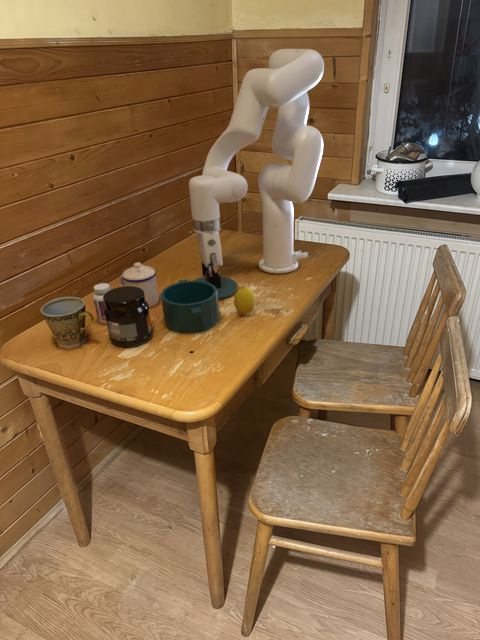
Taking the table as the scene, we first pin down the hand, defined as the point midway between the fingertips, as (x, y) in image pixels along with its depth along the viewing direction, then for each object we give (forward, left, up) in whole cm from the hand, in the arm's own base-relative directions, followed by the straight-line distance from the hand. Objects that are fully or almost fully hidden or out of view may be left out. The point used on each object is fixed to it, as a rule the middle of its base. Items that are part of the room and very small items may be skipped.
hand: (211, 281), depth 147 cm
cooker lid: (0, 0, -2) cm, 2 cm away
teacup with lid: (+21, 0, -3) cm, 21 cm away
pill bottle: (+30, +8, -3) cm, 31 cm away
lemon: (-5, +18, -3) cm, 19 cm away
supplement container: (+25, +20, -3) cm, 32 cm away
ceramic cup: (+38, +18, -3) cm, 42 cm away
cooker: (+9, +16, -3) cm, 19 cm away
